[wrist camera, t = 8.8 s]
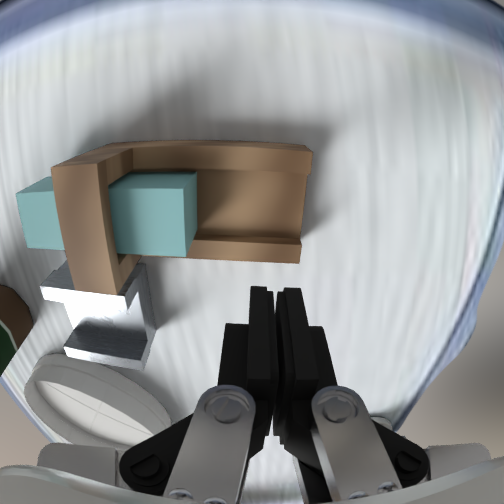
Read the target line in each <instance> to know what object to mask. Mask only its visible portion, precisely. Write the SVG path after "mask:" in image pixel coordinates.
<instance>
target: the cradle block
mask: <svg viewBox="0 0 504 504" xmlns="http://www.w3.org/2000/svg"><path fill="white" fill-rule="evenodd" d="M40 289H41V292H42V294H43V297H44V299H45V300H51V301H58V302H64V303H65V306H66V309H67V312H68V315H69V318H70V320H71V323H72V326H73V328H74V330H73V332H72V333H71V335H70V336H69V338H68V340H67V341H66V343H65V345H64V346H63V347H64V349H65V351H66V353H67V356H69V357H73V358H78V359H82V360H87V361H92V362H97V363H102V364H107V365H112V366H118V367H124V368H130V369H136V370H143V371H144V368H145V365H146V362H147V359H148V356H149V353H150V347H151V344H152V341H153V339H154V336H155V333H156V327H155V321H154V316H153V310H152V305H151V299H150V292H149V286H148V280H147V273H146V265H145V264H139V263H137V264H136V265H135V267H134V269H133V270H132V272H131V273H130V275H129V276H128V278H127V280H126V281H125V283H124V285H123V286H122V288H121V290H120V291H119V293H118V294H117V295H110V294H101V293H92V292H83V291H75V287H74V284H73V280H72V277H71V273H70V269H69V265H68V261H67V260H66V261H65V262H64V263H63V265H62V266H61V267H60V268H59V269H58V270H54V271H53V272H52V273H51V274H50V275H49V276H48V277H47V279H46V280H45V281H44V282H43V283H42V284H41V285H40Z"/></svg>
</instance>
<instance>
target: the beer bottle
mask: <svg viewBox="0 0 504 504" xmlns="http://www.w3.org/2000/svg"><path fill="white" fill-rule="evenodd" d="M32 328H33V321H32V318H31V315H30V311H29V308H28V306H27V305H26V304H25V302H24V301H23V300H22V299H21V298H20V297H19V296H18V294H17V293H16V292H15V291H14V290H13V289H12V288H9V287H6V286H3V285H0V377H1V375H2V373H3V372H4V370H5V369H6V367H7V366H8V364H9V362H10V361H11V359H12V358H13V356H14V355H15V353H16V352H17V350H18V349H19V347H20V346H21V344H22V343H23V342H24V340H25V339H26V337H27V336H28V334H29V333H30V331H31V329H32Z"/></svg>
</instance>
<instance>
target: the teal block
mask: <svg viewBox="0 0 504 504" xmlns="http://www.w3.org/2000/svg"><path fill="white" fill-rule="evenodd" d="M108 191H109V201H110V210H111V218H112V225H113V232H114V239H115V245H116V252H117V253H121V254H139V255H157V256H175V257H186V256H187V253H188V251H189V248H190V246H191V243H192V241H193V239H194V236H195V234H196V231H197V172H128V173H126V174H125V175H123V176H122V177H120V178H118V179H117V180H115V181H114V182H112V183H111V184H109V185H108ZM16 198H17V204H18V209H19V214H20V219H21V223H22V228H23V232H24V236H25V240H26V244H27V248H38V249H54V250H65V249H64V244H63V240H62V235H61V230H60V225H59V220H58V214H57V209H56V202H55V196H54V189H53V182H52V177H46V178H44V179H42V180H40V181H38V182H36V183H35V184H33V185H31V186H29V187H27V188H25V189H23V190H21V191H20V192H18V193H16Z"/></svg>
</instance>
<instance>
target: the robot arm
mask: <svg viewBox="0 0 504 504" xmlns="http://www.w3.org/2000/svg"><path fill="white" fill-rule="evenodd" d="M272 415H273V435H274V436H280V445H284V449H285V450H287V451H288V452H289V453H291V454H292V455H293V463H294V466H295V470H296V474H297V478H298V482H299V486H300V490H301V494H302V498H303V502H304V504H504V456H502V457H497V458H494V459H491V457H490V453H489V451H488V450H487V448H486V447H485V446H483V445H482V444H480V443H469V444H457V445H441V446H428V447H427V449H422V448H421V447H420V446H418V445H417V444H415V443H413V442H411V441H409V440H408V439H406V437H405V436H400V435H399V434H397V433H395V432H393V431H392V426H391V423H390V421H389V420H387V419H385V418H381V417H370V415H369V412H368V410H367V408H366V406H365V404H364V402H363V400H362V399H361V397H360V396H359V395H358V394H357V393H356V392H355V391H353V390H351V389H349V388H347V387H343V386H338V385H337V381H336V377H335V373H334V369H333V364H332V360H331V356H330V352H329V348H328V344H327V340H326V337H325V333H324V329H323V327H322V326H309V325H308V320H307V315H306V310H305V306H304V301H303V296H302V292H301V288H285V287H284V290H283V292H279V291H278V293H277V301H276V310H275V311H274V297H273V291H267V287H261V286H251V289H250V308H249V324H232V323H226V325H225V331H224V339H223V346H222V354H221V362H220V369H219V377H218V385H217V386H215V387H212V388H210V389H208V390H207V391H206V392H204V393H203V394H202V396H201V397H200V399H199V401H198V403H197V406H196V409H195V411H194V413H193V414H191V415H189V416H188V417H186V418H184V419H182V420H181V421H179V422H177V423H175V424H174V425H172V426H170V427H168V428H167V429H165V430H163V431H161V432H159V433H157V434H156V435H154V436H152V437H150V438H148V439H146V440H144V441H142V442H141V443H139V444H137V445H135V446H133V447H131V448H130V449H128V450H117V449H116V448H115V447H98V446H85V445H74V444H66V443H50V444H48V445H46V446H45V447H44V448H43V449H42V450H41V451H40V454H39V457H38V463H37V466H32V465H11V466H5V467H1V468H0V504H240V503H241V499H242V495H243V490H244V486H245V481H246V477H247V472H248V467H249V463H250V458H251V457H253V456H254V455H255V454H257V453H258V452H259V451H261V450H262V449H263V445H264V439H265V436H269V431H270V426H271V421H272Z"/></svg>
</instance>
